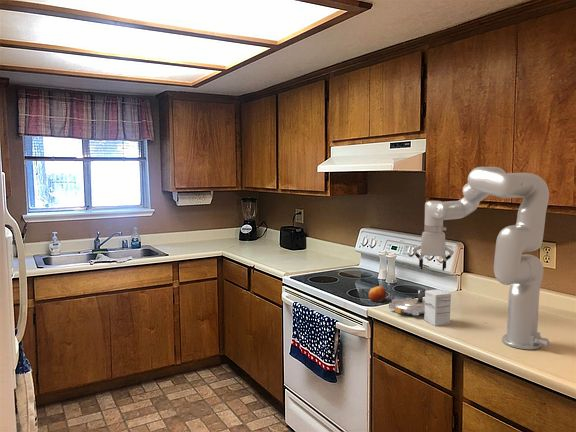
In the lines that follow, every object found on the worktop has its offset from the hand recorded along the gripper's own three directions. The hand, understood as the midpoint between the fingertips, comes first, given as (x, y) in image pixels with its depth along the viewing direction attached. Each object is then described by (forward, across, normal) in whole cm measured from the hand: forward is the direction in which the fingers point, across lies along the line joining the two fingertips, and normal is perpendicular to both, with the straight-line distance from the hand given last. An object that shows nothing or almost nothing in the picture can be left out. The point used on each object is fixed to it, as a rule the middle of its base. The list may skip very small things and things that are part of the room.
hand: (432, 269), depth 201 cm
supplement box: (+19, -3, +16) cm, 25 cm away
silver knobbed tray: (+17, +8, +5) cm, 19 cm away
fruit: (+19, +25, -7) cm, 32 cm away
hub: (+18, +8, +5) cm, 20 cm away
